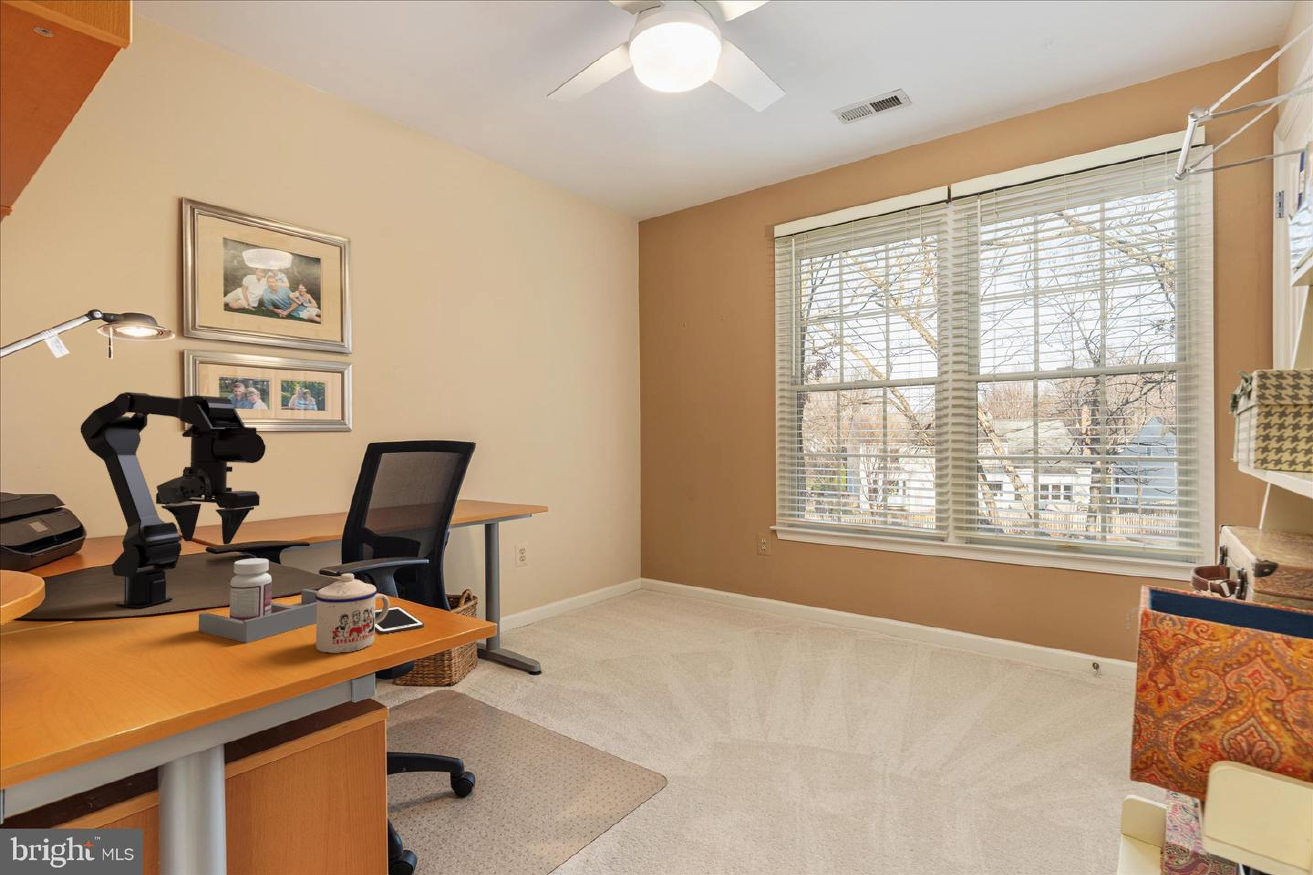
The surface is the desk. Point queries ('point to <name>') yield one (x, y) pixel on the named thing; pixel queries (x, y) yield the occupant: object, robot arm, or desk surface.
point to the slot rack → (263, 620)
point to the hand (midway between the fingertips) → (207, 542)
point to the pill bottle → (250, 589)
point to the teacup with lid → (347, 615)
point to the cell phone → (397, 621)
